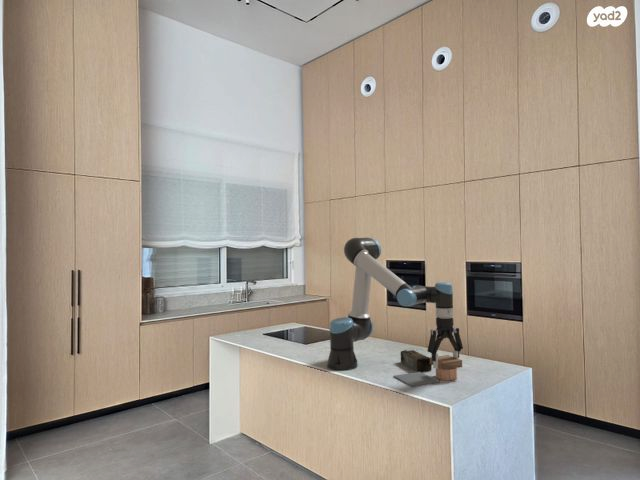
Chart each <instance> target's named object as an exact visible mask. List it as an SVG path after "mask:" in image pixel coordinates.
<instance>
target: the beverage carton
mask: <svg viewBox="0 0 640 480" xmlns="http://www.w3.org/2000/svg"><path fill="white" fill-rule="evenodd" d="M400 363H401V364H403V365H405V366H406V367H408V368H410V369H412V370H413V371H416V372H421V373H424V372H431V371H432V369H433V365H431V364H430V356H429V357H428V356H426V355H424V354H422V353H420V352H418V351H416V350H414V349H413V350H406V349H404V350H402V351H400Z"/></svg>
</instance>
